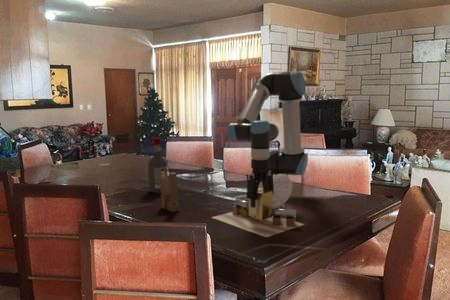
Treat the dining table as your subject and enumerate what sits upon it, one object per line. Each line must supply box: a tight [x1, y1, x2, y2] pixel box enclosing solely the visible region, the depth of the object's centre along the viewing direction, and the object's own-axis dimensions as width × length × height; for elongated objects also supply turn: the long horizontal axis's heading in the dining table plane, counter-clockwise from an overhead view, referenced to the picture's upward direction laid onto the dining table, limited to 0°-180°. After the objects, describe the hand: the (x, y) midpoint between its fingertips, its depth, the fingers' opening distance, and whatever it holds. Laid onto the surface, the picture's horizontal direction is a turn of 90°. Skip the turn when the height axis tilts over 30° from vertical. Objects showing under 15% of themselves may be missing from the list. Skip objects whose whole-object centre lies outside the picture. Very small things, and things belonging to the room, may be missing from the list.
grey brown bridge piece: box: [269, 207, 297, 227], centre depth 160 cm, size 10×5×7 cm, turn 75°
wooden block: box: [160, 172, 180, 213], centre depth 186 cm, size 4×11×18 cm, turn 39°
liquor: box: [147, 137, 169, 194], centre depth 222 cm, size 9×9×30 cm
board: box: [210, 211, 305, 238], centre depth 166 cm, size 22×33×1 cm, turn 40°
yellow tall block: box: [248, 188, 273, 220], centre depth 166 cm, size 8×6×11 cm
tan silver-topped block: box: [232, 198, 251, 218], centre depth 174 cm, size 9×5×7 cm, turn 40°
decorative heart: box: [259, 174, 293, 209], centre depth 184 cm, size 18×11×17 cm, turn 48°
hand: (260, 212), depth 166 cm, fingers closed on yellow tall block, 6 cm apart
